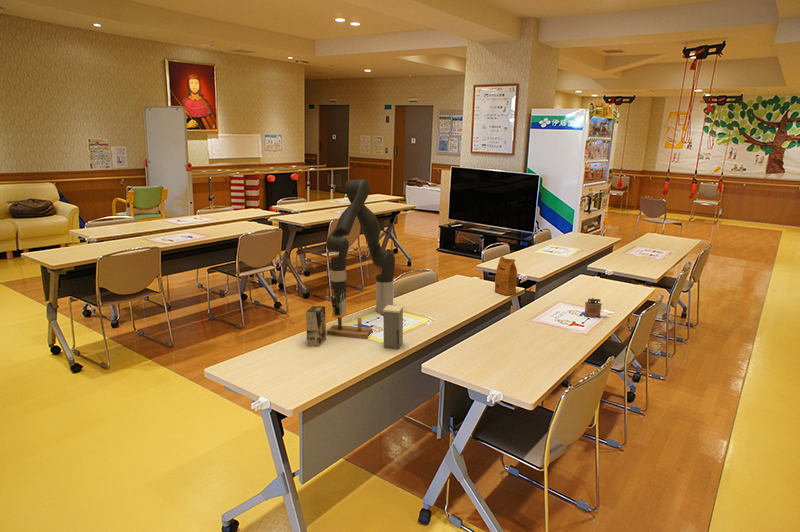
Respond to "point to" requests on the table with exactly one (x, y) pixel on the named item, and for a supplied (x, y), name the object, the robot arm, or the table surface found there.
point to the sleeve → (341, 309)
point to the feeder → (393, 326)
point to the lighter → (593, 308)
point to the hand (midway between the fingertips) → (339, 312)
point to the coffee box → (316, 325)
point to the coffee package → (506, 277)
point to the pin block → (350, 330)
